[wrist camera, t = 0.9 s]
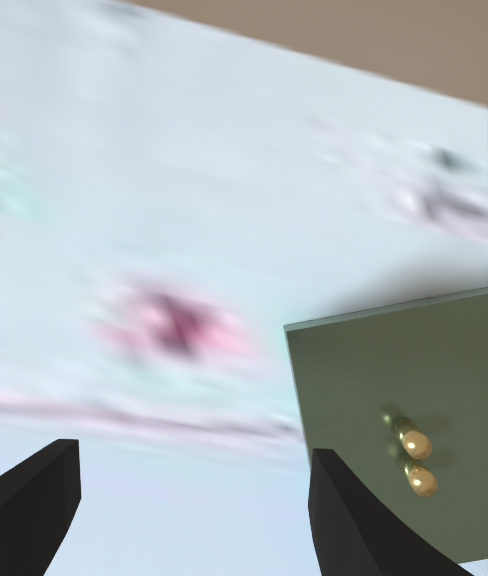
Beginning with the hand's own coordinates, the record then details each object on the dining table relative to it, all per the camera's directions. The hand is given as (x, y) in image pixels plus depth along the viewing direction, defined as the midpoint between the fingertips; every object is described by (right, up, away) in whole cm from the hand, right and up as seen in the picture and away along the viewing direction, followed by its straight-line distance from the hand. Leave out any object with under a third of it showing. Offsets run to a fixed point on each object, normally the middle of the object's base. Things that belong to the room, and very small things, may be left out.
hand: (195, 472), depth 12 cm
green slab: (+14, -2, +11) cm, 17 cm away
